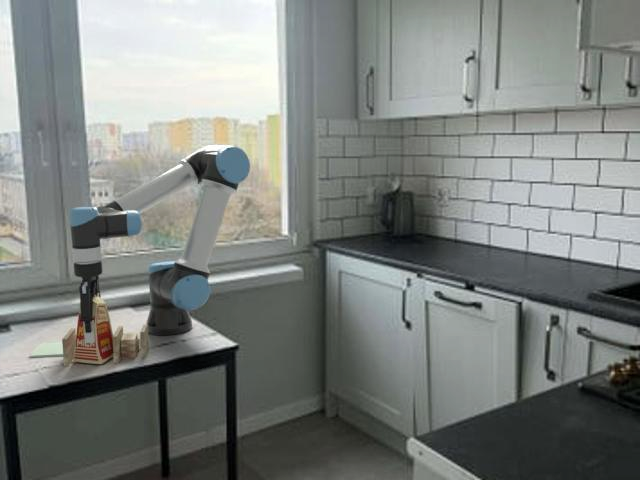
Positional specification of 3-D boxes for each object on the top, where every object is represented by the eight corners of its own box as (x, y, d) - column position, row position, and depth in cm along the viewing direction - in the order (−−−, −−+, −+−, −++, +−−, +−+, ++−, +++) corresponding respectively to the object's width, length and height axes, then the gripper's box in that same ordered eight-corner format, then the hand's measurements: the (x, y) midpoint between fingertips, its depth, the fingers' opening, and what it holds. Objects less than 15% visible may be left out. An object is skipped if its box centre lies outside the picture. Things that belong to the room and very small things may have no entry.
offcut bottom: (139, 351, 183) (139, 345, 182) (135, 359, 177) (135, 352, 176) (126, 352, 182) (125, 346, 182) (121, 359, 176) (121, 353, 176)
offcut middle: (138, 345, 182) (138, 339, 182) (135, 352, 177) (134, 346, 176) (125, 346, 182) (125, 339, 182) (121, 353, 176) (120, 346, 176)
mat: (77, 343, 189) (77, 341, 189) (68, 355, 179) (68, 353, 179) (40, 345, 188) (40, 343, 188) (29, 357, 177) (29, 355, 177)
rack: (148, 349, 184) (147, 324, 182) (144, 361, 174) (142, 335, 172) (73, 353, 180) (71, 328, 179) (64, 366, 171) (62, 339, 169)
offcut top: (137, 339, 182) (137, 332, 182) (135, 345, 176) (135, 339, 176) (123, 340, 181) (123, 333, 181) (121, 346, 176) (120, 340, 175)
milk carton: (101, 364, 170) (96, 296, 167) (72, 362, 172) (67, 294, 169) (117, 353, 179) (114, 288, 176) (90, 351, 181) (85, 287, 178)
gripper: (82, 254, 180) (88, 326, 184) (63, 270, 160) (70, 350, 164) (108, 253, 181) (113, 325, 185) (93, 268, 161) (99, 349, 165)
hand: (93, 337), depth 175 cm, fingers closed on milk carton, 8 cm apart
